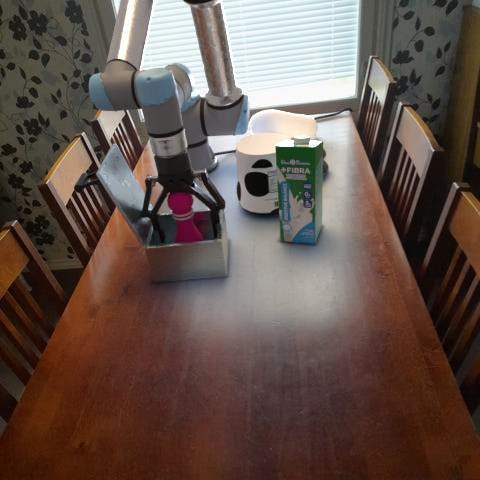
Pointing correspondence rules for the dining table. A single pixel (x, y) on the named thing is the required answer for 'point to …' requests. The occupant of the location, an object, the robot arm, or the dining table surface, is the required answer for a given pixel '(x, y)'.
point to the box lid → (121, 191)
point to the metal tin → (188, 250)
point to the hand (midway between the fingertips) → (189, 237)
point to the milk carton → (300, 189)
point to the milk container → (258, 172)
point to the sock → (283, 124)
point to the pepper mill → (183, 217)
